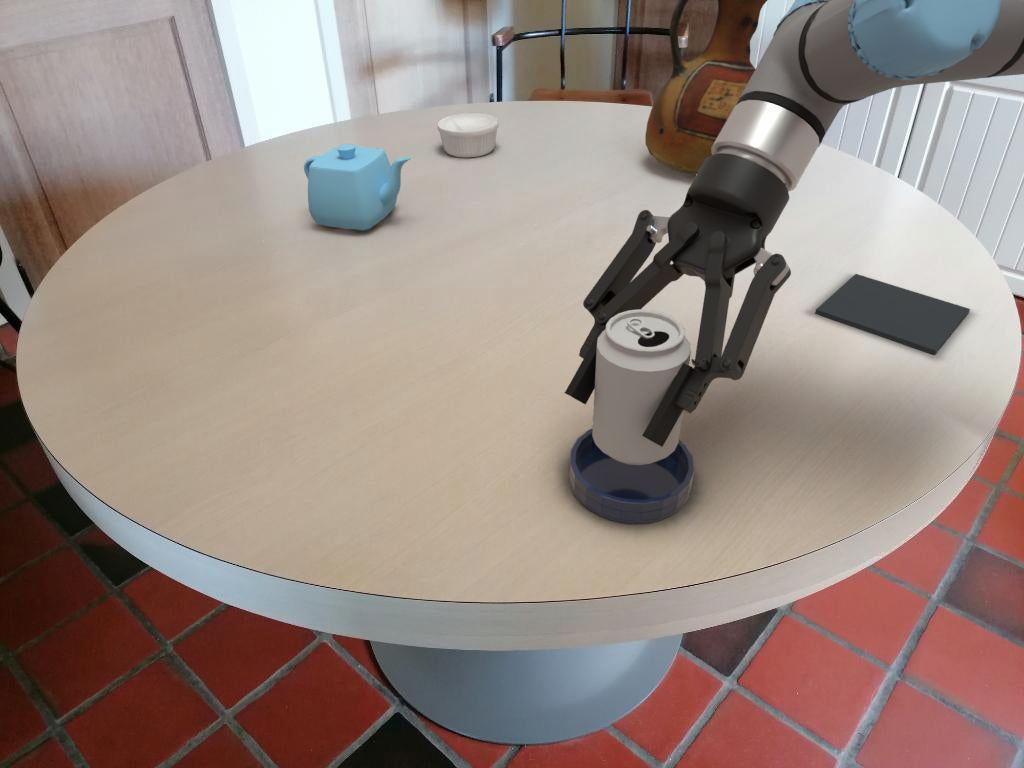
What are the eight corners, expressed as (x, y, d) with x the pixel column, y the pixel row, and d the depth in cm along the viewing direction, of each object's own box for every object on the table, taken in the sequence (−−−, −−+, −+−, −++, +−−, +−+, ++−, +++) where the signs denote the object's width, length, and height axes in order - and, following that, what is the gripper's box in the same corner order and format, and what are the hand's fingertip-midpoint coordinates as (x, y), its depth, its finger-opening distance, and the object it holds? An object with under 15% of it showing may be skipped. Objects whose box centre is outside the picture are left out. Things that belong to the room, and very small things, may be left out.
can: (632, 484, 62) (644, 364, 55) (574, 437, 67) (578, 322, 60) (695, 447, 66) (714, 330, 59) (635, 406, 71) (646, 294, 64)
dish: (713, 475, 69) (717, 455, 68) (645, 544, 63) (648, 523, 61) (616, 426, 75) (617, 406, 74) (545, 483, 69) (545, 463, 68)
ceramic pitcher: (765, 189, 124) (803, -15, 106) (642, 184, 127) (658, -15, 109) (753, 148, 139) (784, -35, 122) (643, 145, 142) (658, -34, 125)
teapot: (401, 242, 110) (392, 166, 104) (293, 229, 115) (278, 155, 108) (433, 210, 120) (427, 138, 113) (333, 198, 125) (321, 129, 118)
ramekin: (427, 152, 142) (424, 123, 139) (467, 136, 149) (465, 109, 146) (471, 164, 136) (469, 135, 133) (510, 147, 143) (510, 119, 140)
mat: (968, 313, 91) (970, 308, 91) (934, 355, 84) (936, 350, 84) (854, 277, 99) (855, 273, 99) (814, 313, 92) (815, 309, 92)
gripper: (878, 229, 58) (733, 486, 59) (663, 168, 70) (544, 382, 71) (864, 182, 52) (703, 469, 53) (632, 124, 64) (502, 358, 65)
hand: (612, 419), depth 62 cm, fingers closed on can, 7 cm apart
